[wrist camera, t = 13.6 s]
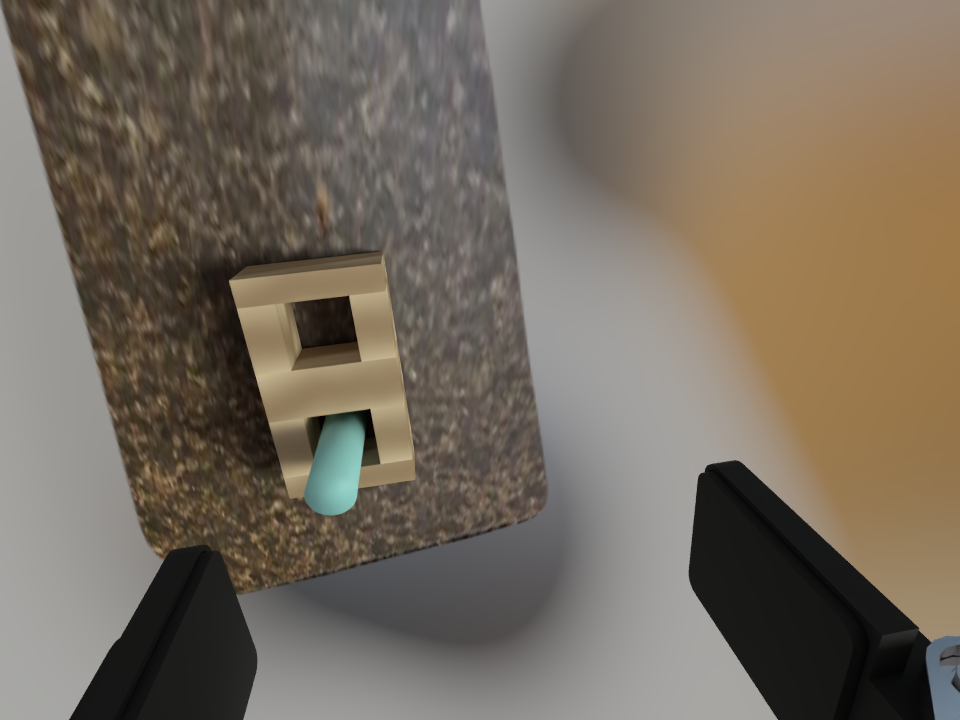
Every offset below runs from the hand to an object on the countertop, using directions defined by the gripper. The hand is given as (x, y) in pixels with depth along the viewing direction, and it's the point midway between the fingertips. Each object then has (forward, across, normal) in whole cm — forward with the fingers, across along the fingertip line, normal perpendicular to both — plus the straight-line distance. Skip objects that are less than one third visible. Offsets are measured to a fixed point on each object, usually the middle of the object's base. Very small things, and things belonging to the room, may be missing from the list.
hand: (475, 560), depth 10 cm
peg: (+28, +7, +11) cm, 31 cm away
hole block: (+28, +7, +7) cm, 30 cm away
